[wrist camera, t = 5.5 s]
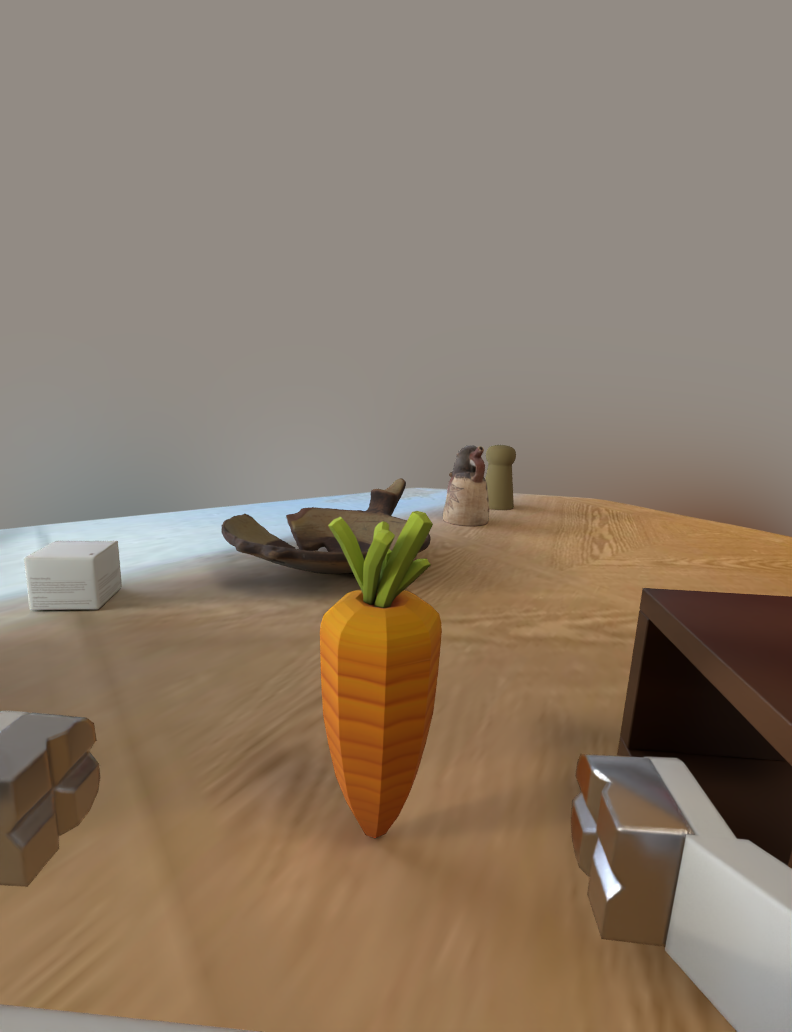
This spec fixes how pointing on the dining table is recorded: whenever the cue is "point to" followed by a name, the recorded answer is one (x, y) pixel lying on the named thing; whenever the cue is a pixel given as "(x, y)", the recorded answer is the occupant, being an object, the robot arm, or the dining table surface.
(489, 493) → the chess pawn
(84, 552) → the small box
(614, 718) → the dining table surface
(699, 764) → the wooden desk organizer
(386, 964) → the dining table surface
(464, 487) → the figurine
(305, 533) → the broken bowl
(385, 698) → the carrot
